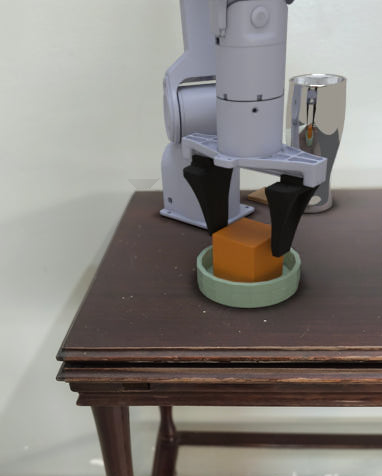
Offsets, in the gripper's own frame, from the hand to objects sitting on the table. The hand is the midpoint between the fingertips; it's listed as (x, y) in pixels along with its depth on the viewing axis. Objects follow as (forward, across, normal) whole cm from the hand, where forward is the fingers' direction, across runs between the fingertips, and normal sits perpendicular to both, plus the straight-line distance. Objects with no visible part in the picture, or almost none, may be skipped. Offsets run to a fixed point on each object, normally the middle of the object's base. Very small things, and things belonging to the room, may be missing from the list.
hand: (248, 242), depth 56 cm
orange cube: (+4, 0, 0) cm, 4 cm away
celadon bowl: (+4, 0, 0) cm, 4 cm away
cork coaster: (+4, -12, +20) cm, 23 cm away
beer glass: (+4, -6, +21) cm, 22 cm away
